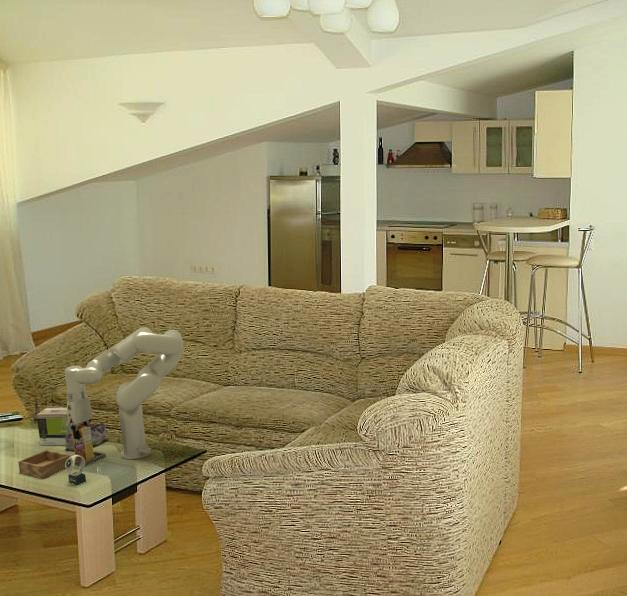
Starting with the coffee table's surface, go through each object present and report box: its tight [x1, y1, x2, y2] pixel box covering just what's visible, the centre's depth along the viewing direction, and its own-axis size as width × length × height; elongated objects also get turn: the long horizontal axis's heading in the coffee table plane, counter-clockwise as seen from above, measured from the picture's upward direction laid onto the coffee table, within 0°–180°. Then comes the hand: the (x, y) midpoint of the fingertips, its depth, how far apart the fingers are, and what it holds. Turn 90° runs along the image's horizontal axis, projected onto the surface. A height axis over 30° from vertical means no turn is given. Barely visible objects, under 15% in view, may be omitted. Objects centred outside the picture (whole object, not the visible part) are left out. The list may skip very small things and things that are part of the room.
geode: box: [64, 422, 109, 451], centre depth 415 cm, size 20×12×10 cm, turn 142°
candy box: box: [72, 423, 95, 462], centre depth 396 cm, size 9×4×15 cm, turn 47°
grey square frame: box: [70, 450, 107, 467], centre depth 397 cm, size 13×13×2 cm
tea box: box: [36, 407, 72, 446], centre depth 421 cm, size 15×10×15 cm, turn 78°
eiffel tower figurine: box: [22, 395, 41, 423], centre depth 456 cm, size 15×10×13 cm
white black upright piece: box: [64, 454, 87, 486], centre depth 372 cm, size 6×8×11 cm
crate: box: [18, 449, 71, 480], centre depth 388 cm, size 15×15×5 cm
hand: (81, 436), depth 395 cm, fingers closed on candy box, 4 cm apart
